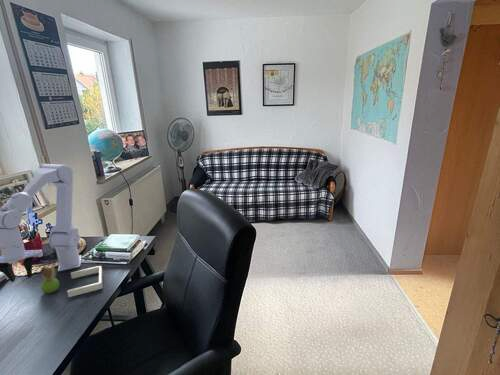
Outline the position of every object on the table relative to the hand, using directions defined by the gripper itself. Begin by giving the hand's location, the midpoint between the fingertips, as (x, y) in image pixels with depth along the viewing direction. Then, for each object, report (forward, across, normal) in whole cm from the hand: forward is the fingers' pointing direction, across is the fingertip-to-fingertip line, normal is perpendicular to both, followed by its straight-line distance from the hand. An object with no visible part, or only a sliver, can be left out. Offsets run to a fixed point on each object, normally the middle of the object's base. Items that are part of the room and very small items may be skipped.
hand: (21, 278), depth 94 cm
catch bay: (+8, +18, 0) cm, 20 cm away
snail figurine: (+9, +8, 0) cm, 11 cm away
